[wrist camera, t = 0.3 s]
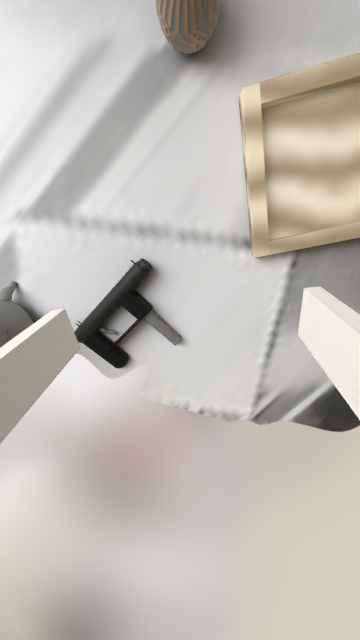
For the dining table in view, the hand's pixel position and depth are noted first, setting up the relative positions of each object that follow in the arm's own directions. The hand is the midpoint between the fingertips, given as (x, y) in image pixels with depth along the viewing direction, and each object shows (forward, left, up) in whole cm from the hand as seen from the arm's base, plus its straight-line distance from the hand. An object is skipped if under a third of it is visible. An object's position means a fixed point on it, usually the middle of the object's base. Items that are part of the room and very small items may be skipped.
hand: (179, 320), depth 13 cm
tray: (-9, +20, -26) cm, 34 cm away
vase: (-27, +5, -27) cm, 38 cm away
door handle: (+9, -12, -27) cm, 31 cm away
